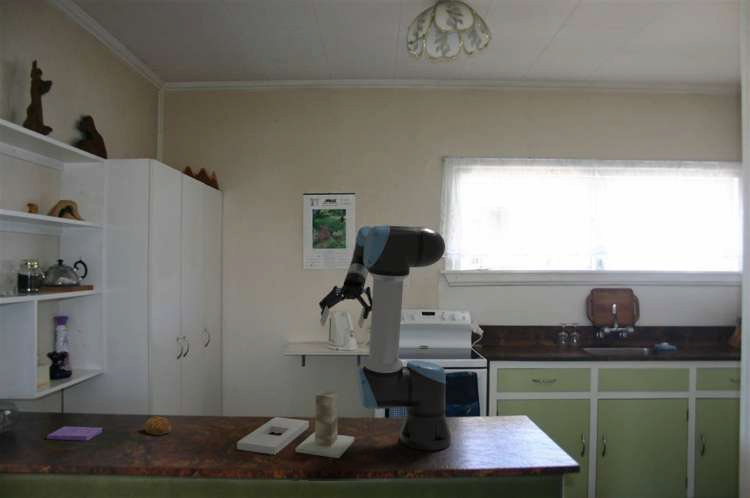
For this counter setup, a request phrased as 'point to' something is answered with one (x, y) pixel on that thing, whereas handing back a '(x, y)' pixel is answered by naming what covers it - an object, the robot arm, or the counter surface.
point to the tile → (333, 451)
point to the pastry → (157, 426)
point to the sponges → (75, 433)
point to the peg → (326, 418)
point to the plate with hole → (273, 443)
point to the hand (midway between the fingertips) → (340, 324)
